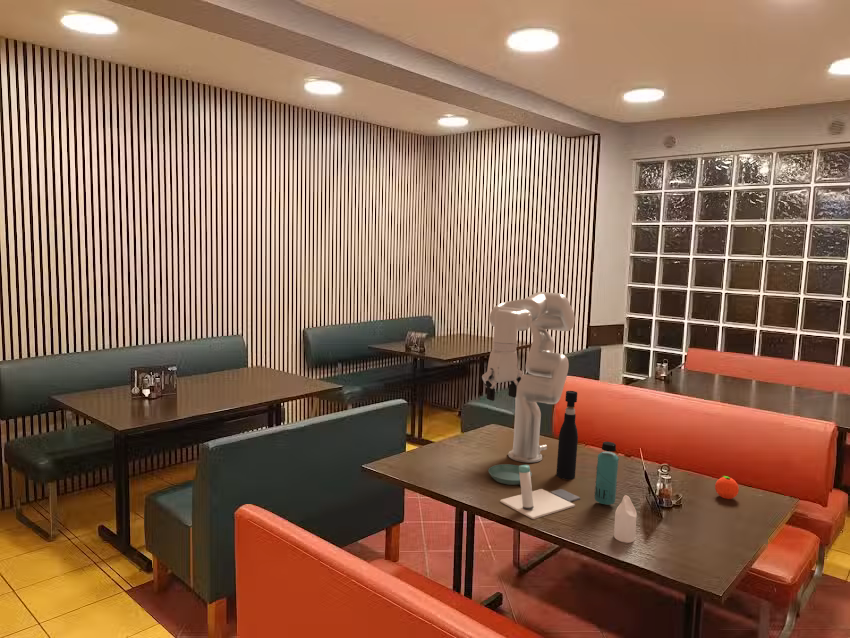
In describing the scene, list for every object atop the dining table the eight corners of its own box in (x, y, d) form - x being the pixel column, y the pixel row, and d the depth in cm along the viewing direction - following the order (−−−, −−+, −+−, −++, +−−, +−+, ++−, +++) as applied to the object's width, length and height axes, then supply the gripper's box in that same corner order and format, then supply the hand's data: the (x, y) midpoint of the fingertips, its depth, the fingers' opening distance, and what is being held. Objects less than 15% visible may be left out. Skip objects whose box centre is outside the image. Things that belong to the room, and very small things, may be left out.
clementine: (709, 491, 203) (711, 471, 202) (730, 493, 202) (732, 472, 202) (719, 501, 195) (721, 480, 194) (741, 503, 194) (743, 481, 194)
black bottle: (554, 477, 210) (560, 392, 206) (557, 471, 215) (563, 388, 212) (573, 480, 207) (579, 395, 204) (576, 474, 213) (582, 391, 210)
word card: (561, 490, 198) (561, 488, 198) (580, 498, 192) (580, 497, 192) (550, 493, 196) (550, 491, 196) (569, 502, 189) (569, 500, 189)
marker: (529, 505, 184) (525, 464, 184) (535, 507, 181) (531, 466, 181) (520, 507, 182) (516, 466, 182) (527, 510, 179) (523, 468, 179)
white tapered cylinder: (634, 502, 161) (613, 496, 165) (631, 545, 163) (610, 538, 166) (641, 495, 166) (620, 489, 169) (637, 536, 168) (617, 530, 171)
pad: (541, 490, 197) (541, 488, 197) (574, 506, 186) (574, 504, 186) (500, 501, 187) (500, 499, 187) (532, 519, 176) (532, 517, 176)
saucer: (505, 468, 217) (506, 460, 217) (540, 480, 207) (540, 472, 207) (479, 477, 207) (479, 470, 207) (513, 491, 197) (514, 483, 196)
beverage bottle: (615, 503, 190) (620, 441, 188) (614, 511, 184) (620, 447, 182) (594, 499, 192) (599, 438, 190) (592, 507, 186) (597, 444, 184)
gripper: (515, 344, 208) (512, 393, 210) (477, 347, 198) (474, 398, 200) (531, 347, 202) (528, 398, 203) (492, 350, 192) (489, 403, 194)
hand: (501, 398), depth 202 cm, fingers open, 9 cm apart
